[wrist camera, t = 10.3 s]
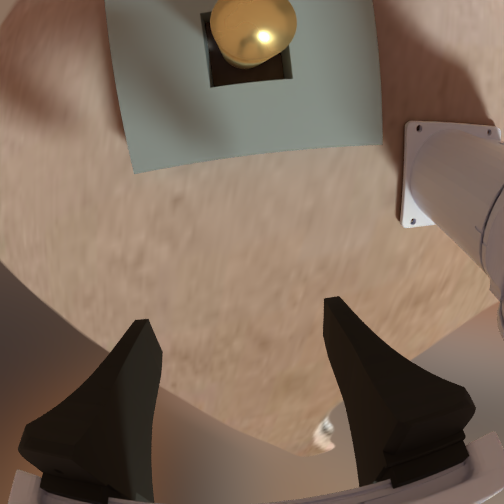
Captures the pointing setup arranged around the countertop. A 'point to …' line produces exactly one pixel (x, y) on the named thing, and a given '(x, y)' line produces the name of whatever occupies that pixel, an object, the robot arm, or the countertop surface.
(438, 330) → the countertop surface
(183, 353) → the countertop surface
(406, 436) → the robot arm
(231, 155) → the hole plate
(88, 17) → the countertop surface
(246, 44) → the long pin
